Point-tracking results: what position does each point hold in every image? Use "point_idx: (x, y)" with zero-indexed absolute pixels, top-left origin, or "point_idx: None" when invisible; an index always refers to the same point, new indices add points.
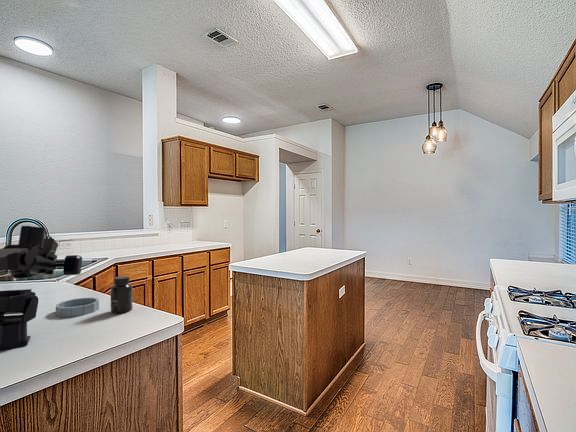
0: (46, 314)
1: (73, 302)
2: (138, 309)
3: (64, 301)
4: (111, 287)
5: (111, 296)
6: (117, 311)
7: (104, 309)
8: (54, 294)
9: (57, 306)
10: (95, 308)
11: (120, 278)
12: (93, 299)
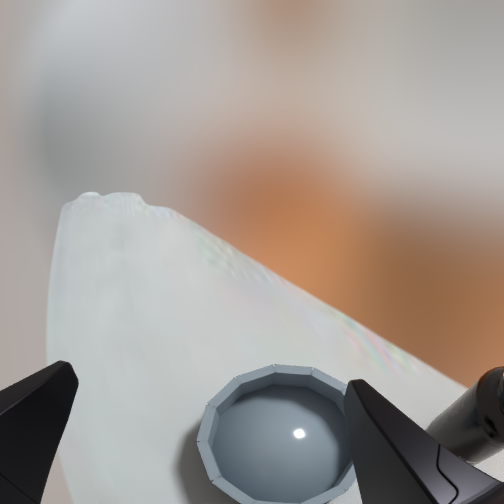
0: (169, 455)
1: (241, 389)
2: None
3: (212, 402)
4: (491, 426)
5: (472, 452)
6: None
7: None
8: (137, 251)
9: (215, 476)
10: None
11: None
12: (324, 384)
